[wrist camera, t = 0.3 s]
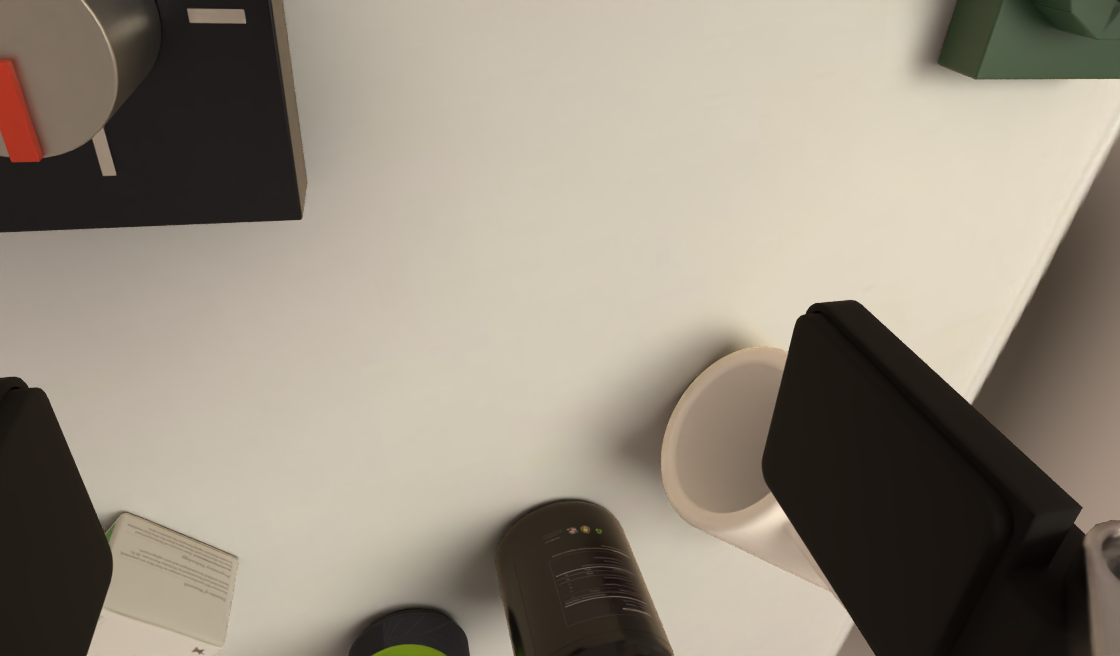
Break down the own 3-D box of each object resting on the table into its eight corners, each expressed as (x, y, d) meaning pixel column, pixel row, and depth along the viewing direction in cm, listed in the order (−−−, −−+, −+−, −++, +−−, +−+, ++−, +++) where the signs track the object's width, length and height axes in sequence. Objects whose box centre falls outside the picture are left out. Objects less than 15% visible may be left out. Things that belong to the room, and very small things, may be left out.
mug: (767, 506, 41) (896, 716, 31) (636, 435, 36) (741, 661, 26) (882, 402, 38) (1061, 595, 29) (758, 310, 33) (926, 508, 24)
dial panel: (-216, -296, 17) (-316, -318, 15) (248, -255, 19) (232, -269, 17) (-24, 194, 24) (-70, 239, 21) (307, 183, 26) (302, 222, 23)
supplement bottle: (604, 584, 42) (681, 816, 32) (483, 589, 39) (525, 839, 30) (637, 494, 38) (735, 721, 28) (506, 494, 36) (563, 740, 26)
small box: (122, 506, 31) (87, 604, 27) (244, 556, 34) (229, 650, 30) (48, 585, 33) (5, 689, 29) (171, 626, 36) (148, 725, 32)
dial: (-70, -90, 17) (-194, -68, 13) (138, -82, 18) (79, -59, 14) (-3, 101, 20) (-92, 167, 16) (178, 99, 21) (136, 161, 17)
